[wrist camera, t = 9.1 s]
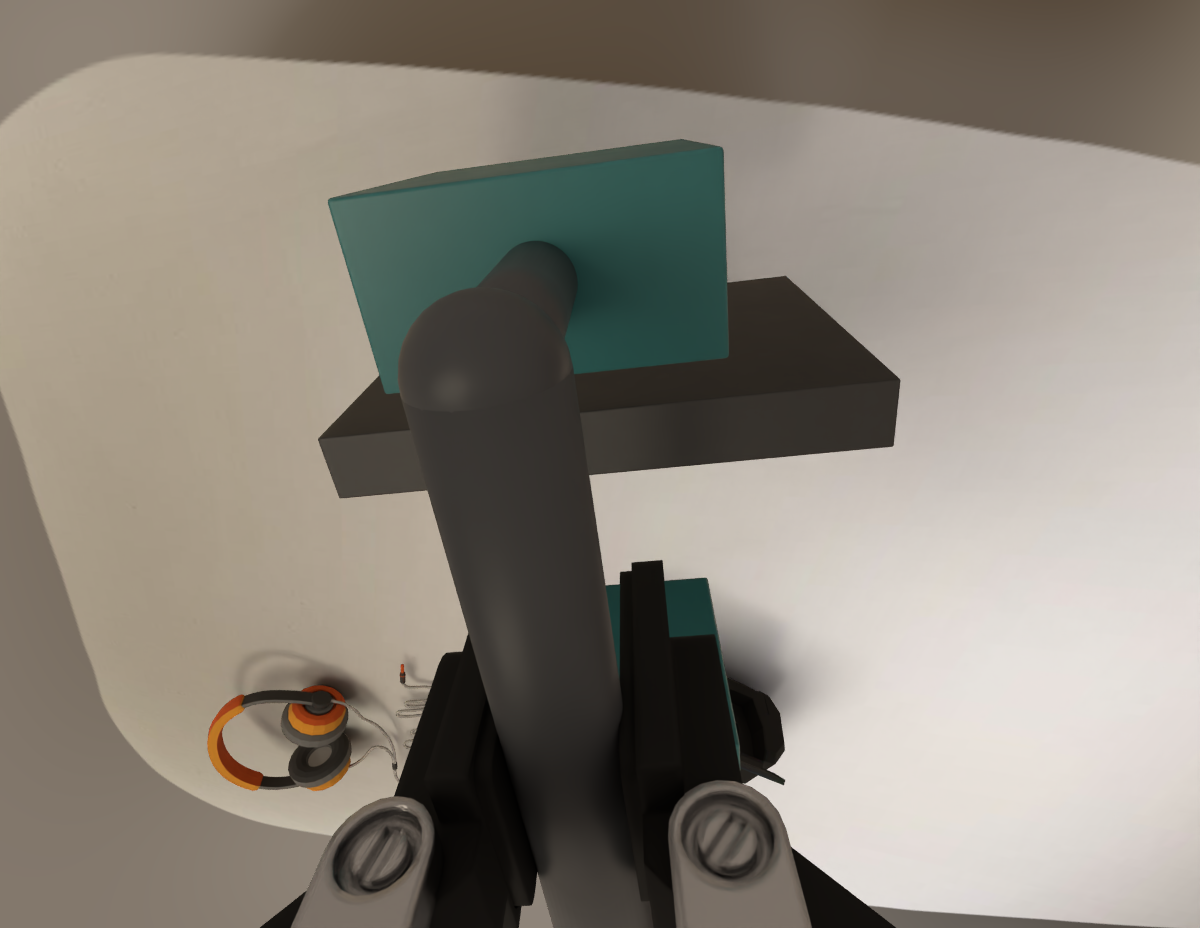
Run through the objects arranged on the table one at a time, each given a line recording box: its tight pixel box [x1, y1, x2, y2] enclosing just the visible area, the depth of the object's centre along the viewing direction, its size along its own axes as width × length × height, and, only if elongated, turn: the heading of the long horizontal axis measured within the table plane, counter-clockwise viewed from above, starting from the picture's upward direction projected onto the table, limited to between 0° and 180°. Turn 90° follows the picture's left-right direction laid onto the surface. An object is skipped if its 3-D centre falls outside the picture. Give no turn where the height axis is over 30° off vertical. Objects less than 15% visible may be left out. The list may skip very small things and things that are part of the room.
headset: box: [328, 139, 740, 928], centre depth 13 cm, size 15×6×11 cm, turn 7°
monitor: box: [318, 276, 900, 498], centre depth 28 cm, size 8×16×24 cm, turn 97°
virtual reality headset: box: [727, 678, 785, 785], centre depth 53 cm, size 19×22×10 cm
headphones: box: [207, 664, 431, 791], centre depth 56 cm, size 17×5×20 cm
